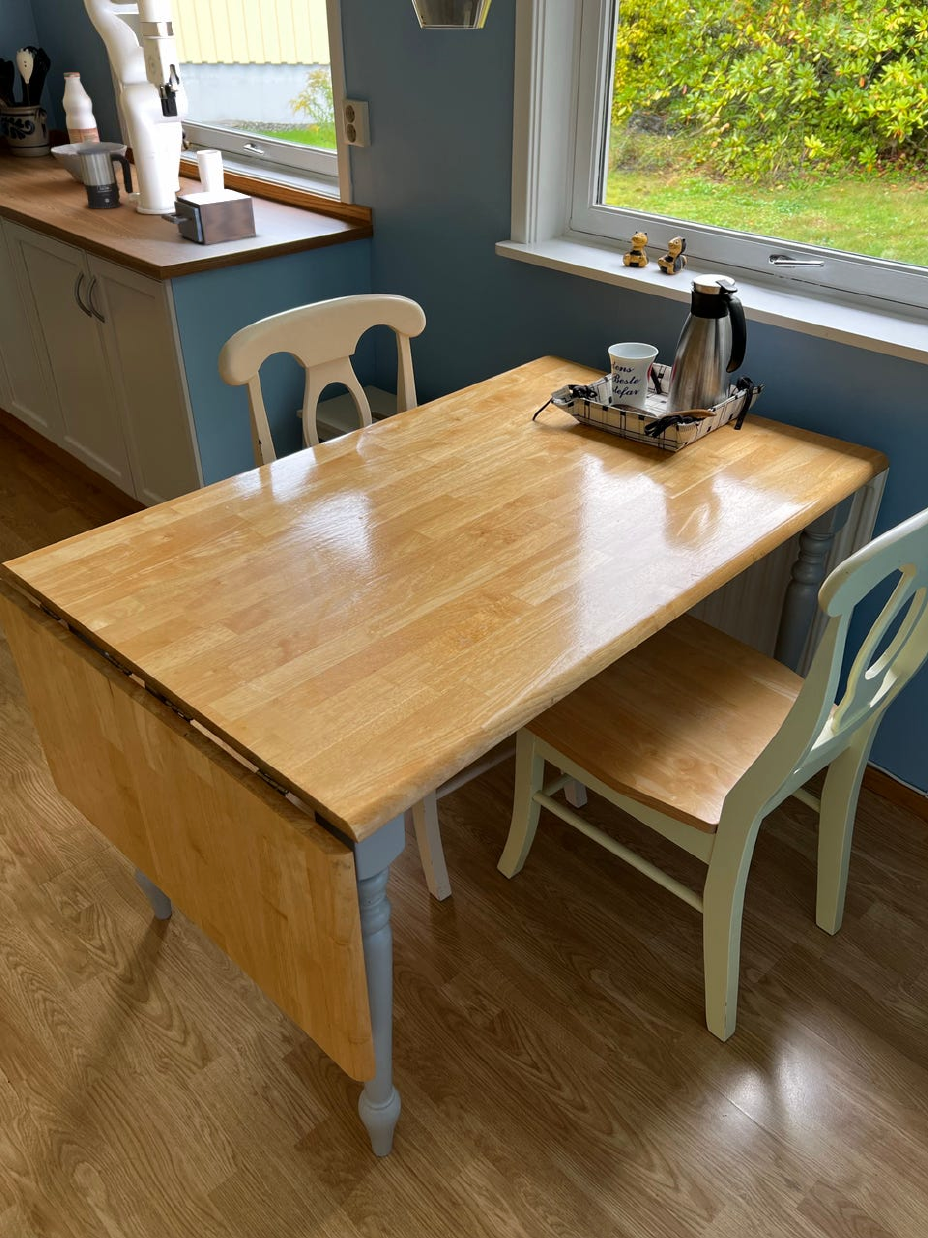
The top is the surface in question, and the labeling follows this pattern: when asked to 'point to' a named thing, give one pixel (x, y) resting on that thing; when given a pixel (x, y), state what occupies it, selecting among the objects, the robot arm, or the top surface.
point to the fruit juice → (78, 111)
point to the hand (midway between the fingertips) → (170, 115)
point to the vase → (172, 146)
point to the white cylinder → (210, 170)
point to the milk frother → (103, 176)
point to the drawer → (186, 220)
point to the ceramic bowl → (71, 158)
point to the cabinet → (223, 215)
